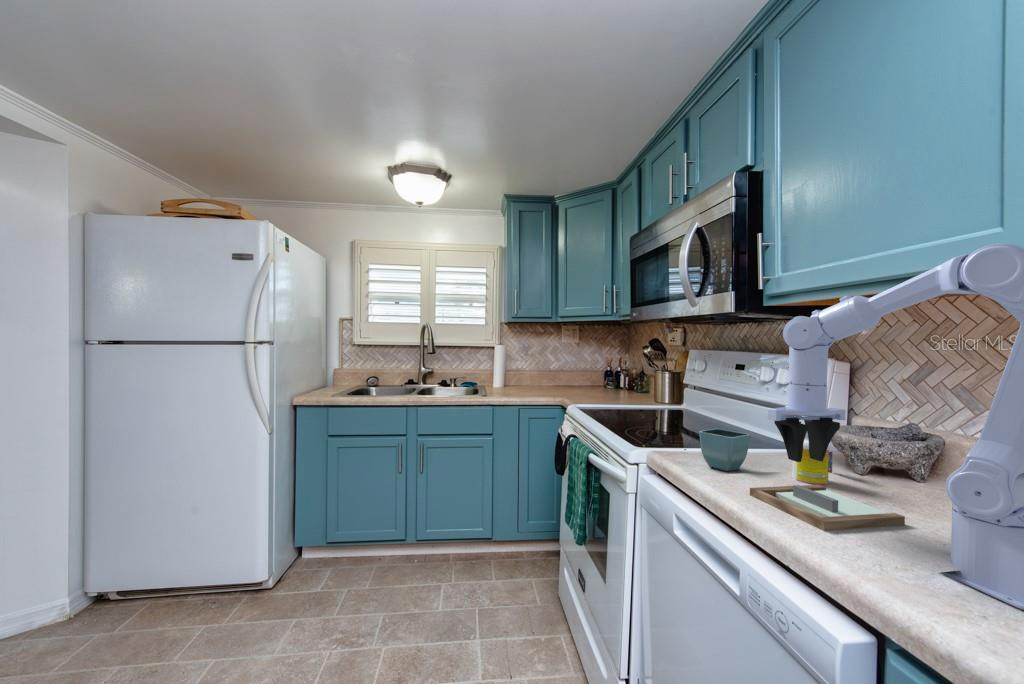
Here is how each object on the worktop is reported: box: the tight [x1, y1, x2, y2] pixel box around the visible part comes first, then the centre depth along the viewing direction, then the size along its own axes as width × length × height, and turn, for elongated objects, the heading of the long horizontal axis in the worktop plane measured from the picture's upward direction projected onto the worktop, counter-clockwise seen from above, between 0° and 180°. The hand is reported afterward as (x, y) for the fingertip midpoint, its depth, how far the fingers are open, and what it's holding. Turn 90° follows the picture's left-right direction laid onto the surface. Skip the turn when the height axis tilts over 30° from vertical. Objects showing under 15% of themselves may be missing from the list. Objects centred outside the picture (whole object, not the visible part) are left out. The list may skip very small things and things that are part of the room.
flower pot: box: [698, 428, 751, 472], centre depth 108 cm, size 9×9×9 cm
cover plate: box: [776, 484, 889, 517], centre depth 78 cm, size 12×12×3 cm
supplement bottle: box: [791, 433, 830, 486], centre depth 95 cm, size 7×7×13 cm
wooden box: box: [749, 484, 906, 532], centre depth 77 cm, size 16×16×3 cm
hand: (805, 460), depth 77 cm, fingers open, 4 cm apart
